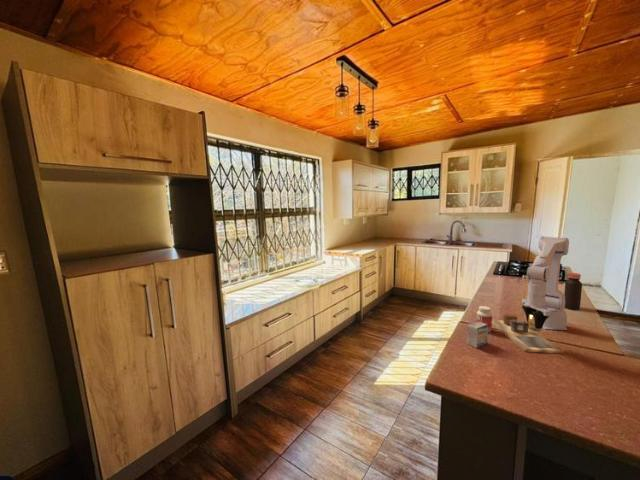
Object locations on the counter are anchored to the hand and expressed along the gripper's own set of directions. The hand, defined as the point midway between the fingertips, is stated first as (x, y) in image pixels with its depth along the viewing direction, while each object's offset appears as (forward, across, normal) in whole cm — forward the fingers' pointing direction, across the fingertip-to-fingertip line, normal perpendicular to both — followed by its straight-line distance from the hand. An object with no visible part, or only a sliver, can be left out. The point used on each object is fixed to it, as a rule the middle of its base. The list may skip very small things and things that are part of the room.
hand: (534, 325), depth 110 cm
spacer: (+2, 0, 0) cm, 2 cm away
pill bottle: (+9, -12, -14) cm, 21 cm away
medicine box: (+9, +2, -23) cm, 25 cm away
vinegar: (+8, -44, +46) cm, 64 cm away
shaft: (+7, -13, 0) cm, 15 cm away
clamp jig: (+8, -8, 0) cm, 11 cm away
